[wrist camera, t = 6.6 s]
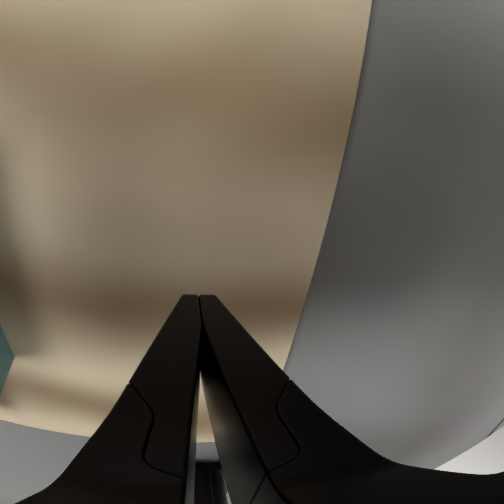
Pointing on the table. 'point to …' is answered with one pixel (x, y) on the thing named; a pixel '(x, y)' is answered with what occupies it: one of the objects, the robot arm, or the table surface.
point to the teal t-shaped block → (4, 359)
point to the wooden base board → (160, 180)
